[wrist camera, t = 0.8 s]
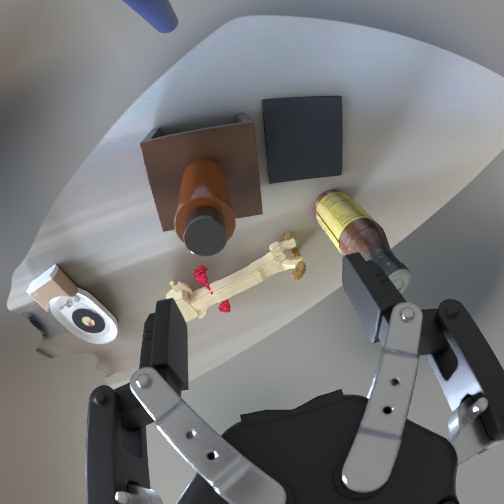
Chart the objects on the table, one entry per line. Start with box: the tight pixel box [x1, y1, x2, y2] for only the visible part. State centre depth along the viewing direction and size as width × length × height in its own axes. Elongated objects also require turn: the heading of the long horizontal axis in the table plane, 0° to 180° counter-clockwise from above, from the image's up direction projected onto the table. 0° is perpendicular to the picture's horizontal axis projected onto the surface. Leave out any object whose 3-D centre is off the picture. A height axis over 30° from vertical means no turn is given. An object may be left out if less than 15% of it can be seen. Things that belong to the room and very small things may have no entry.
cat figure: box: [166, 232, 306, 322], centre depth 45 cm, size 10×9×25 cm
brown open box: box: [140, 113, 263, 232], centre depth 34 cm, size 11×12×8 cm
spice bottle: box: [175, 159, 236, 256], centre depth 26 cm, size 5×5×12 cm
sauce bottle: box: [314, 190, 411, 294], centre depth 36 cm, size 6×6×20 cm
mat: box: [262, 96, 342, 184], centre depth 37 cm, size 12×11×1 cm
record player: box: [27, 264, 118, 344], centre depth 47 cm, size 12×3×20 cm
